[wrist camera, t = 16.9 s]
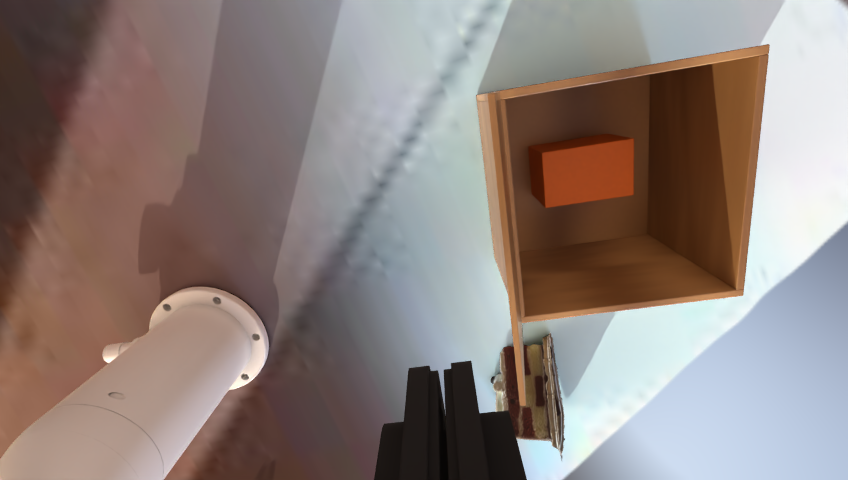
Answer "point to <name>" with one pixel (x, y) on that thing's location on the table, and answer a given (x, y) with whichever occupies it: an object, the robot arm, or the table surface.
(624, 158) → the block
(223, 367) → the robot arm
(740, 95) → the carton
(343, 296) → the table surface
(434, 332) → the table surface
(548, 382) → the chocolate cake
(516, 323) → the flap
